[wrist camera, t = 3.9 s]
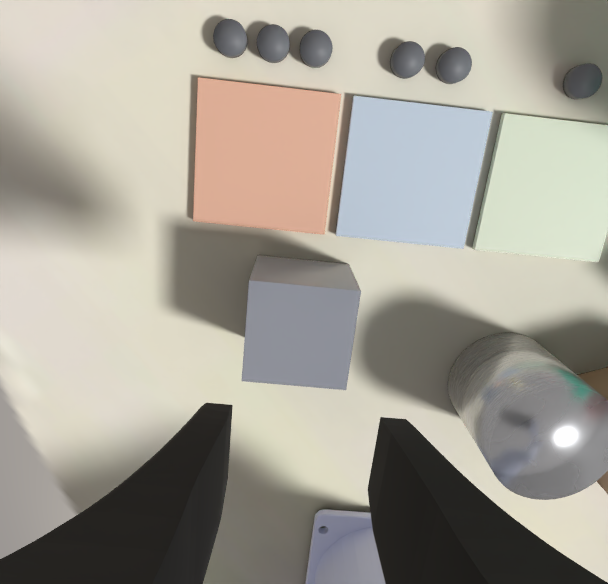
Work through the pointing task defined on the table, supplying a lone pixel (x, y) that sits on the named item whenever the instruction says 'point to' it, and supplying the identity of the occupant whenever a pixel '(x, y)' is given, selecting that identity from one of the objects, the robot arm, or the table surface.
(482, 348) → the grey tin
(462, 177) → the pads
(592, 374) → the walnut block
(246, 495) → the table surface
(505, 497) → the table surface
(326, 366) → the marker cube
